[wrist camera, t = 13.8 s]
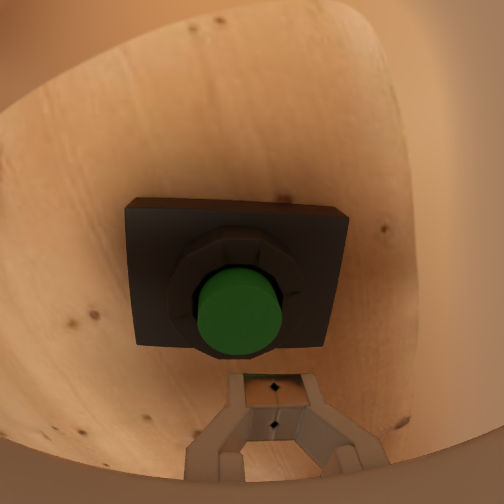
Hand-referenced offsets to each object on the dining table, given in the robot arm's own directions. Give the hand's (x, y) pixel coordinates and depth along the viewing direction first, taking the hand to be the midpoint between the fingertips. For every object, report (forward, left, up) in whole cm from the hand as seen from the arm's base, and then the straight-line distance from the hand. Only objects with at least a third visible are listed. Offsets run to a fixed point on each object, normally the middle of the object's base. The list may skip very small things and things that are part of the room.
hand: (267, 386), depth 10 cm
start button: (+1, 0, -5) cm, 5 cm away
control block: (+1, 0, -9) cm, 9 cm away
